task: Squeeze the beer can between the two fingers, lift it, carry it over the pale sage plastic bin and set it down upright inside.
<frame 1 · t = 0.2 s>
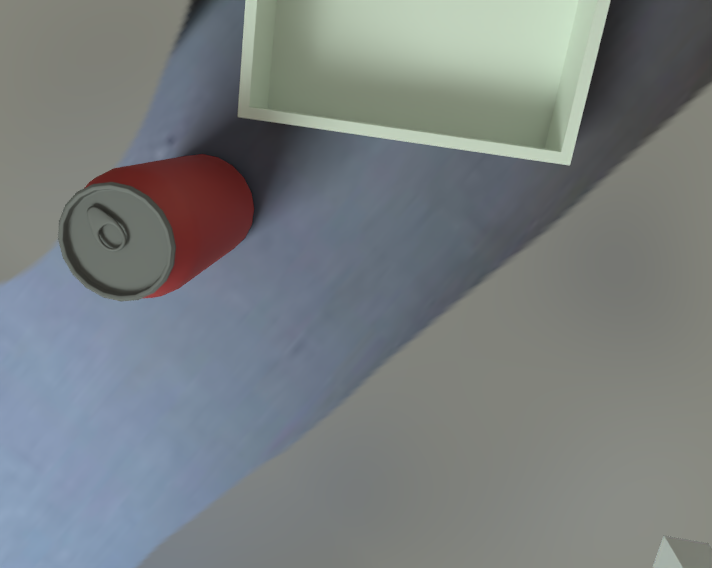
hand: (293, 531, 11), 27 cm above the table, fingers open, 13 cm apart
beer can: (209, 204, 37), on the table
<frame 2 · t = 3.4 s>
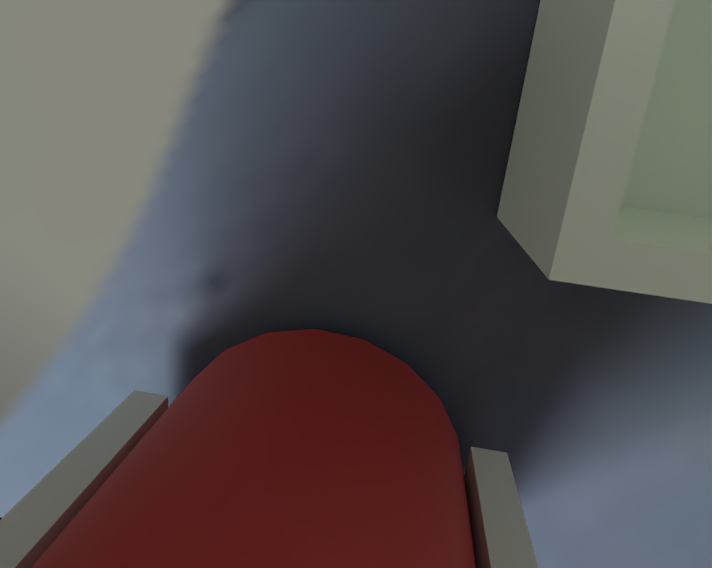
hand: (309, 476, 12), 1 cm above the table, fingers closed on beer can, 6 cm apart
beer can: (319, 445, 13), on the table, touching gripper
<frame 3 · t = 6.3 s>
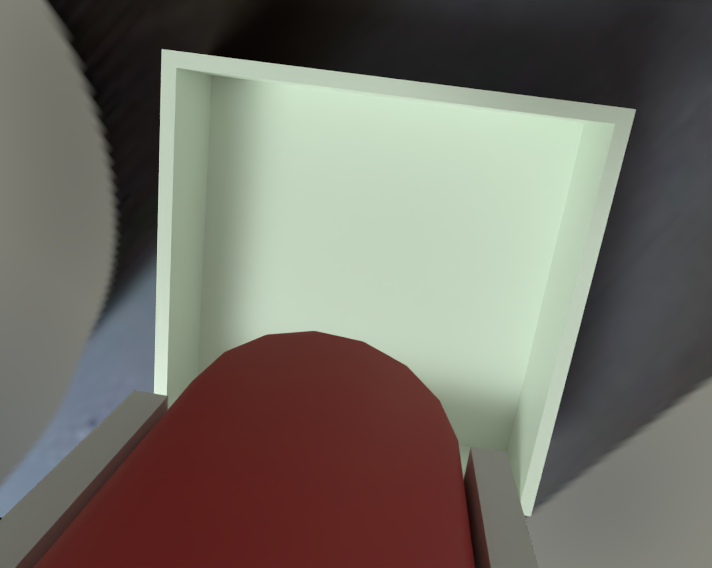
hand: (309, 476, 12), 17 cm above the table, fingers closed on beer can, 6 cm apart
beer can: (318, 447, 13), point 15 cm above the table, touching gripper
bin: (370, 274, 28), on the table
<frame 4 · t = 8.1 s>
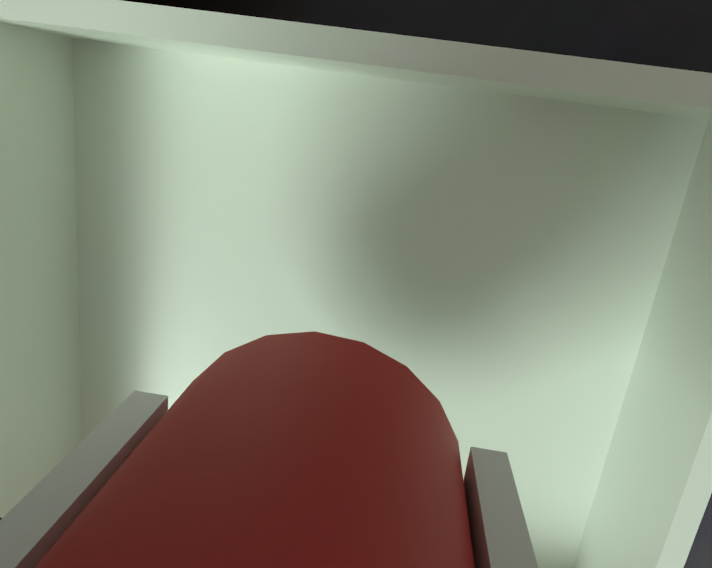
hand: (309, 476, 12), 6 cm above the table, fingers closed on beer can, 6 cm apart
beer can: (318, 447, 13), point 5 cm above the table, touching gripper
bin: (343, 359, 18), on the table
when the fingers open (4 cm above the table, at t = 9.4 s): beer can drops 2 cm, resting on bin.
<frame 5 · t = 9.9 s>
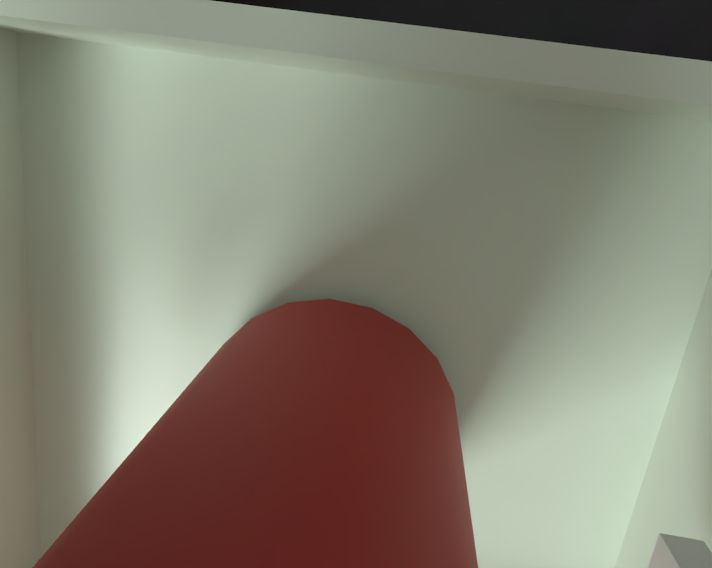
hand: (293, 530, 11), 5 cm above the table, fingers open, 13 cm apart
beer can: (332, 404, 15), resting on bin
bin: (333, 397, 16), on the table
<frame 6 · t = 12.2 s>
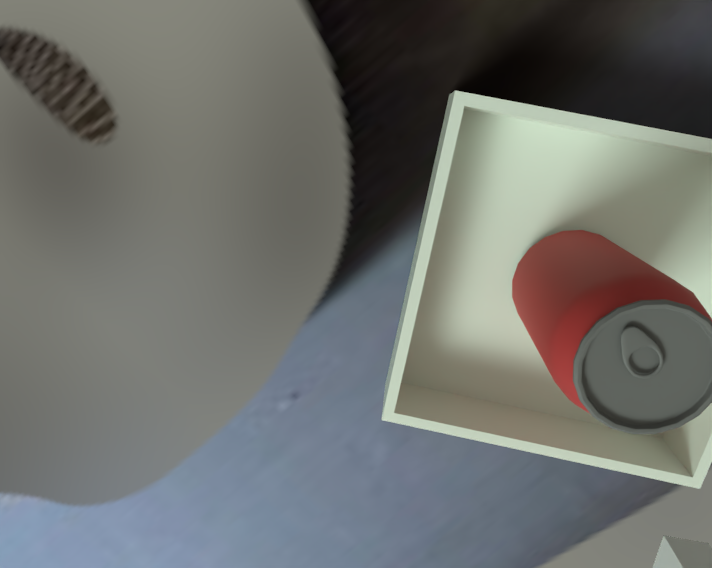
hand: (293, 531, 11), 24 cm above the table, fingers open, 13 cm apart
beer can: (566, 282, 33), resting on bin
bin: (564, 280, 33), on the table
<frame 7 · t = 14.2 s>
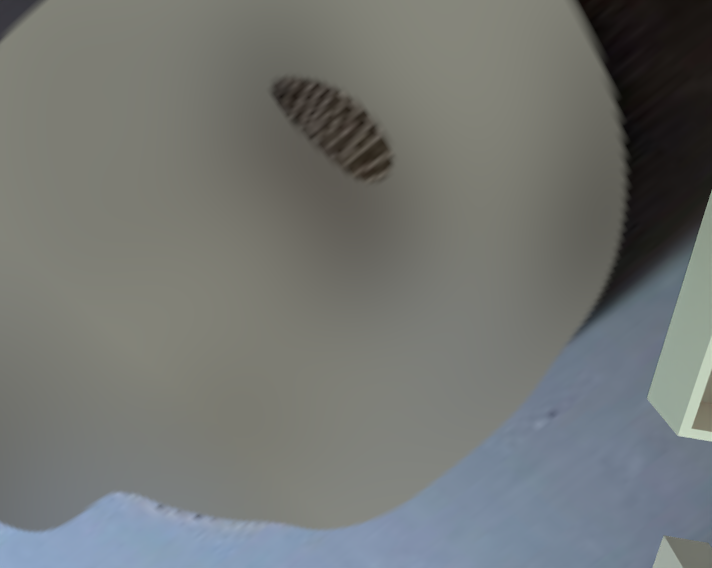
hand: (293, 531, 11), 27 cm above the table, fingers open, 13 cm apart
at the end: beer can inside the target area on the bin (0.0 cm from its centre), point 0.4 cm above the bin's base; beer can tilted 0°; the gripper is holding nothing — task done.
